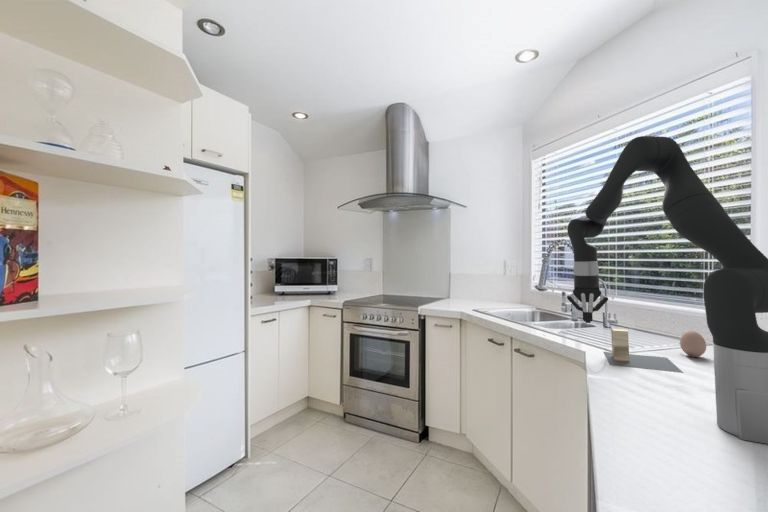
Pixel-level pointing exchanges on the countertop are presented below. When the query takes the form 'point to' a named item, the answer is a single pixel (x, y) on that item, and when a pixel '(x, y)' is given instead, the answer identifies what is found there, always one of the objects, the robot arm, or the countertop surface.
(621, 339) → the birch block
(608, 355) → the rubber mat
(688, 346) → the egg
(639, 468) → the countertop surface
